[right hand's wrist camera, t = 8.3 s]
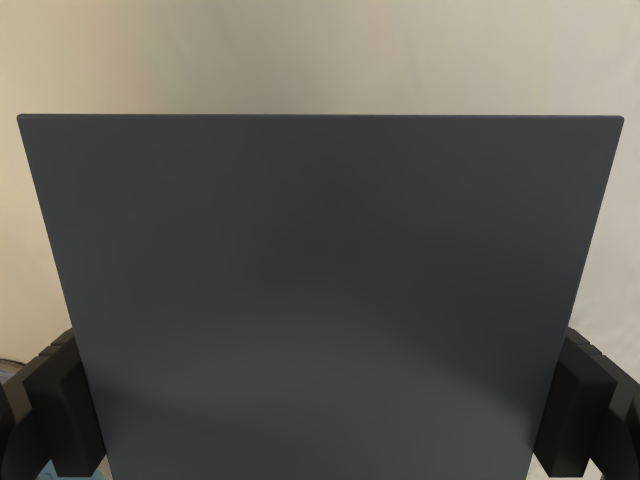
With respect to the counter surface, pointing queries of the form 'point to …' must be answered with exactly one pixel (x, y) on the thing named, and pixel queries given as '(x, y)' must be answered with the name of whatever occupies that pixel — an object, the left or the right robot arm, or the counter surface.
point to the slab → (319, 285)
